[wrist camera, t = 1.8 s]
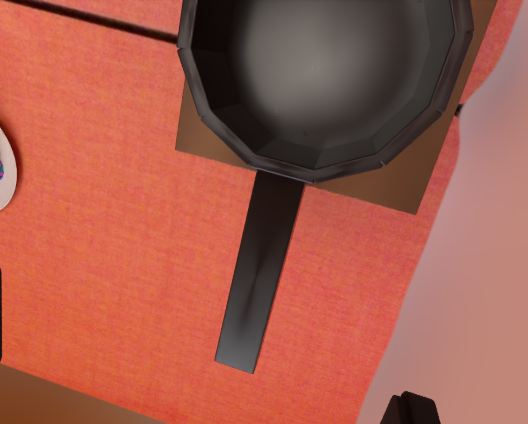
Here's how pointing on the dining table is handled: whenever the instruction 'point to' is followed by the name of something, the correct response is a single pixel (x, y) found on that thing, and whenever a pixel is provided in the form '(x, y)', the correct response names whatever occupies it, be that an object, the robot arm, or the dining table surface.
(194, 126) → the wooden cube
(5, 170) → the pudding
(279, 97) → the pan
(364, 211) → the dining table surface
